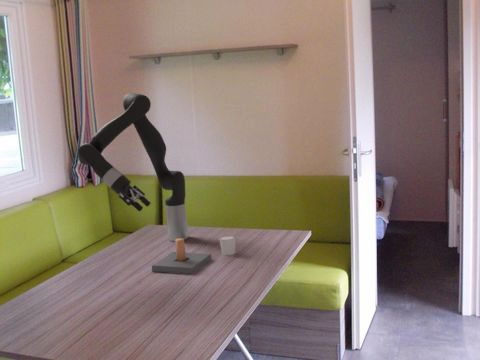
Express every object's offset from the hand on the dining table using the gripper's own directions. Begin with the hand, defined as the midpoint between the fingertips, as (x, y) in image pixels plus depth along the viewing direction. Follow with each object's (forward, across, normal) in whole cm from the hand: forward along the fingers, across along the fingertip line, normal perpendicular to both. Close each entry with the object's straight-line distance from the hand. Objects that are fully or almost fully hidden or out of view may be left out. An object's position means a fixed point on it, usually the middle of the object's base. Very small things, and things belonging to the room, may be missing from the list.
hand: (145, 207), depth 231 cm
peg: (+27, -1, +8) cm, 28 cm away
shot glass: (+39, +15, -3) cm, 41 cm away
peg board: (+27, -1, +8) cm, 28 cm away
